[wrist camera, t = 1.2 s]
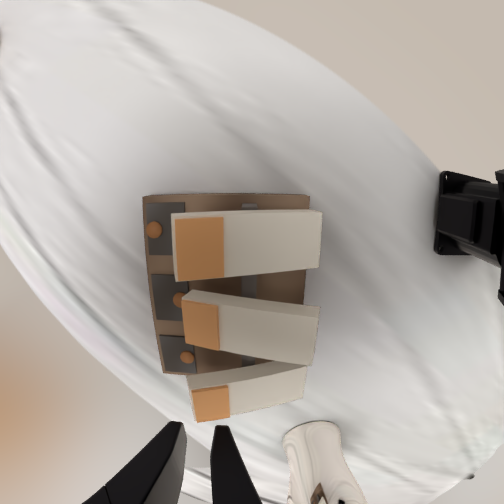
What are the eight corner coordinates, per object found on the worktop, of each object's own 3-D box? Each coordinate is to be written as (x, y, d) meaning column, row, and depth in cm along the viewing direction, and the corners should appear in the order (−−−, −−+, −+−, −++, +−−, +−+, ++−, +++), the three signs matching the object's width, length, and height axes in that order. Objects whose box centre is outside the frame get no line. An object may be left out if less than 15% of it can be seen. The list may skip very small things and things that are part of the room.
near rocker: (310, 209, 14) (324, 212, 13) (307, 261, 15) (321, 269, 14) (170, 213, 12) (172, 217, 11) (174, 273, 13) (176, 283, 11)
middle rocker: (320, 306, 13) (317, 320, 12) (314, 352, 14) (310, 368, 13) (192, 289, 15) (179, 299, 14) (195, 332, 16) (184, 344, 15)
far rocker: (298, 355, 16) (309, 368, 15) (294, 387, 17) (303, 400, 16) (186, 375, 14) (189, 391, 13) (191, 407, 15) (195, 423, 14)
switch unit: (304, 194, 17) (320, 199, 13) (292, 365, 21) (300, 399, 17) (150, 195, 17) (125, 200, 13) (167, 361, 20) (154, 394, 17)
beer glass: (331, 408, 22) (372, 545, 8) (351, 438, 24) (386, 548, 9) (265, 434, 23) (273, 568, 8) (294, 460, 24) (308, 570, 10)
